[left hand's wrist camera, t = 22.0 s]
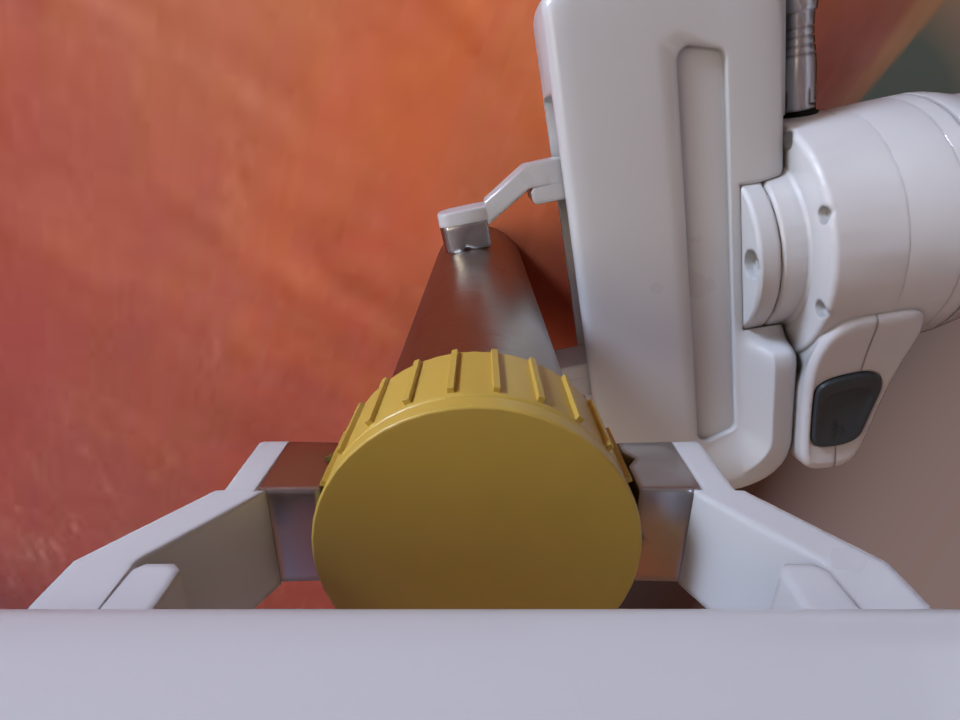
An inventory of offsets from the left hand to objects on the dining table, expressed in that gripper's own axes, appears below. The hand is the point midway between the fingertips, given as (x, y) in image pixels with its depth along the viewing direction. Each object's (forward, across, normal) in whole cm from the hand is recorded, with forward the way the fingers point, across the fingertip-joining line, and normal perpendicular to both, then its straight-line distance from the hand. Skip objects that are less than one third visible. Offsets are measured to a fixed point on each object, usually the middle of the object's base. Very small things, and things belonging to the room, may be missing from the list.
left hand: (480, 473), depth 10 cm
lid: (-2, 0, 0) cm, 2 cm away
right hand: (+12, -1, 0) cm, 13 cm away
